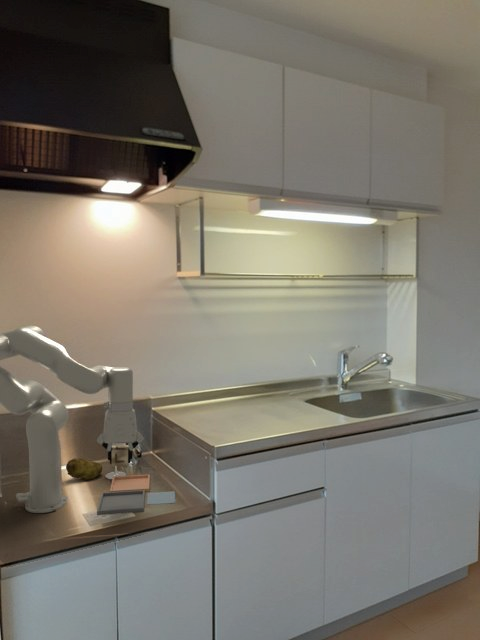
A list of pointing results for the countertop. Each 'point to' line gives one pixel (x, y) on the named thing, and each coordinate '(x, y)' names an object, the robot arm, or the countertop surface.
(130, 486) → the terracotta tray
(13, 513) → the countertop surface
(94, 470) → the potato
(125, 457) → the letter cube
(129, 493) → the charcoal tray
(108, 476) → the wineglass
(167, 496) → the mat
